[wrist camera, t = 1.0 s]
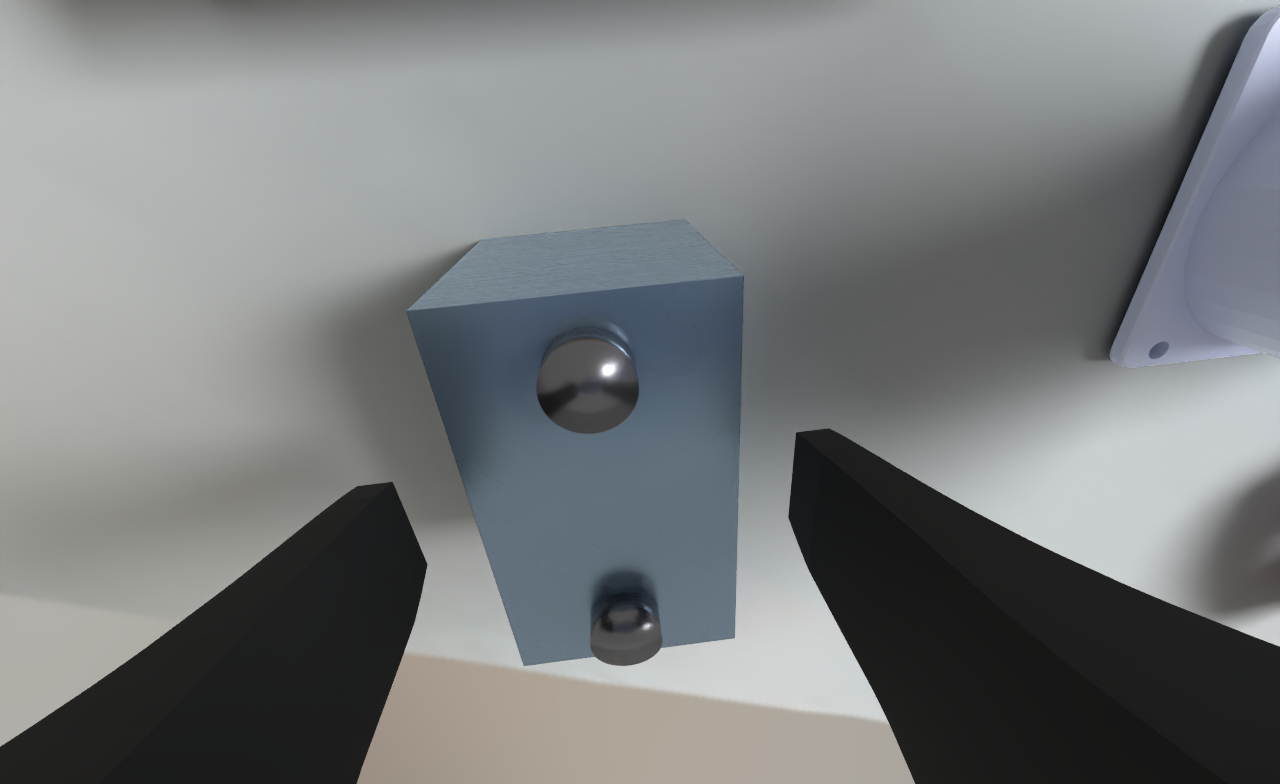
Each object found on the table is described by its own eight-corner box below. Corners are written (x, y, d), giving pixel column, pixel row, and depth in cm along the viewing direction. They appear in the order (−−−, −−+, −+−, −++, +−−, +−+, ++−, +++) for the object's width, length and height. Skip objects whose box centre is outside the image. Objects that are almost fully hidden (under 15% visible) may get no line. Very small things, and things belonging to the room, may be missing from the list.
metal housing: (683, 218, 11) (756, 287, 6) (692, 488, 15) (742, 665, 10) (482, 238, 11) (389, 327, 6) (544, 506, 15) (519, 694, 10)
